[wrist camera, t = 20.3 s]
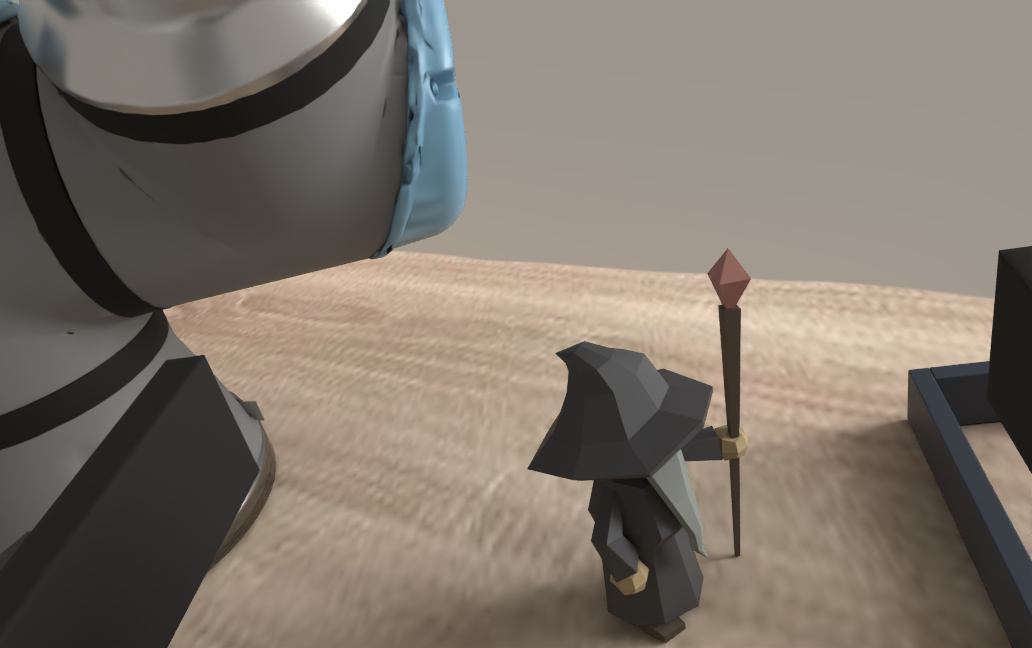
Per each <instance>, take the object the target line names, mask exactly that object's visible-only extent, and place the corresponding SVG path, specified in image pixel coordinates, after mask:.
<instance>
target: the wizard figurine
mask: <svg viewBox="0 0 1032 648" xmlns="http://www.w3.org/2000/svg"><path fill="white" fill-rule="evenodd" d="M707 274H708V276H709V278H710V280H711V282H712V284H713V286H714V288H715V290H716V292H717V295H718V297H719V299H720V301H721V303H722V305H719V306H718V308H719V322H720V335H721V349H722V362H723V376H724V389H725V403H726V416H727V425H726V426H722V427H718V428H715V430H714V429H713V427H712V426H710V427H707V428H704V424H705V420H706V416H707V412H708V408H709V404H710V400H711V397H712V393H713V388H712V386H710V385H707V384H704V383H702V382H699V381H696V380H693V379H691V378H688V377H685V376H682V375H680V374H677V373H674V372H672V371H669V370H666V369H660V370H656V368H655V367H654V366H653V364H652V363H651V362H650V361H649V359H648V358H647V357H646V355H645V354H643V353H638V352H634V351H629V350H624V349H616V348H608V347H604V346H600V345H596V344H593V343H589V342H585V341H584V342H581V343H579V344H576V345H574V346H572V347H569V348H567V349H564V350H562V351H559V352H557V353H555V354H556V355H557V356H558V357H560V358H561V359H562V360H563V361H564V362H565V363H566V366H567V368H568V371H569V374H568V385H567V394H566V397H565V400H564V403H563V406H562V409H561V412H560V413H559V415H558V416H557V418H556V420H555V421H554V423H553V424H552V426H551V427H550V429H549V431H548V432H547V434H546V436H545V438H544V440H543V441H542V443H541V445H540V447H539V449H538V451H537V452H536V454H535V456H534V458H533V460H532V461H531V463H530V465H529V467H528V469H529V470H533V471H537V472H542V473H546V474H550V475H554V476H558V477H562V478H567V479H571V480H578V481H583V480H594V483H593V488H592V493H591V498H590V503H589V508H588V511H589V512H590V514H591V516H592V518H593V519H594V521H595V524H594V529H593V534H592V539H591V542H592V543H593V545H594V547H595V548H596V550H597V552H598V553H599V555H600V557H601V558H602V562H603V571H604V580H605V588H606V597H607V605H608V612H610V613H612V614H614V615H616V616H618V617H620V618H621V619H623V620H625V621H627V622H629V623H631V624H633V625H639V626H640V627H641V628H642V629H643V630H644V631H645V632H646V633H647V634H649V635H651V636H653V637H655V638H657V639H659V640H661V641H663V642H668V641H669V640H670V639H672V638H673V637H674V636H676V635H677V634H679V633H680V632H681V631H683V630H684V629H685V622H684V621H682V620H681V619H680V618H679V617H678V616H680V615H682V614H684V613H686V612H687V611H689V610H691V609H693V608H695V607H697V606H698V605H699V599H700V594H701V588H702V582H703V575H702V572H701V570H700V567H699V564H698V562H697V559H696V557H695V554H694V551H695V552H697V553H699V554H701V555H703V556H704V557H706V558H708V559H709V557H708V555H707V552H706V549H705V547H704V544H703V527H702V519H701V516H700V512H699V509H698V505H697V502H696V498H695V495H694V491H693V488H692V484H691V481H690V477H689V474H688V471H687V467H686V464H685V461H707V460H722V459H724V460H729V462H730V480H731V498H732V515H733V533H734V551H735V555H736V557H737V556H740V472H739V457H741V456H743V455H745V452H746V450H747V447H748V438H749V436H748V435H747V434H746V433H745V432H744V430H743V429H741V428H740V427H739V421H740V332H741V309H740V308H739V307H738V306H737V305H736V304H737V303H738V301H739V299H740V297H741V296H742V294H743V292H744V290H745V289H746V287H747V285H748V283H749V282H750V280H751V278H750V277H749V275H748V274H747V273H746V271H745V270H744V269H743V267H742V266H741V265H740V263H739V262H738V261H737V259H736V258H735V257H734V256H733V255H732V253H731V252H730V250H729V249H727V250H726V251H725V253H724V254H723V255H722V256H721V257H720V259H719V260H718V261H717V262H716V264H715V265H714V266H713V267H712V268H711V270H710V271H709V272H708V273H707ZM703 428H704V429H703ZM686 532H687V533H686Z"/></svg>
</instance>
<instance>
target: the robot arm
mask: <svg viewBox="0 0 1032 648" xmlns="http://www.w3.org/2000/svg"><path fill="white" fill-rule="evenodd" d="M454 81H455V68H454V60H453V47H452V42H451V36H450V31H449V26H448V21H447V16H446V11H445V7H444V2H443V0H19V5H18V4H16V3H14V2H12V1H11V0H0V648H167V647H168V645H169V643H170V641H171V640H172V638H173V636H174V634H175V632H176V630H177V628H178V626H179V624H180V622H181V620H182V619H183V617H184V615H185V613H186V611H187V609H188V607H189V605H190V603H191V601H192V599H193V598H194V596H195V594H196V592H197V590H198V588H199V586H200V584H201V582H202V580H203V578H204V577H205V575H206V573H207V571H208V570H209V569H211V568H212V567H213V566H214V565H215V564H216V563H218V562H219V561H220V560H221V559H222V558H223V557H224V556H225V555H226V554H227V553H228V552H229V551H230V550H231V549H232V548H233V547H234V546H235V545H236V543H237V542H238V541H239V540H240V539H241V538H242V537H243V536H244V534H245V533H246V532H247V530H248V529H249V528H250V527H251V525H252V524H253V522H254V521H255V520H256V518H257V517H258V515H259V514H260V512H261V510H262V508H263V506H264V505H265V503H266V501H267V498H268V496H269V494H270V492H271V488H272V485H273V482H274V477H275V469H276V461H275V454H274V451H273V448H272V446H271V444H270V441H269V439H268V437H267V435H266V433H265V431H264V428H263V426H262V424H261V422H260V420H264V418H263V416H262V414H261V411H260V409H259V407H258V405H257V403H256V401H253V402H243V401H242V400H241V399H240V398H239V397H237V396H236V395H235V394H234V393H232V392H230V391H228V390H227V388H226V387H225V386H224V385H223V384H222V383H221V382H220V381H219V380H218V379H217V378H216V376H215V375H214V374H213V372H212V370H211V368H210V366H209V364H208V362H207V360H206V358H205V356H204V355H200V356H195V355H194V354H193V352H192V351H191V350H190V349H189V348H188V347H187V346H186V345H185V344H184V343H183V342H182V341H181V340H180V339H179V338H178V337H177V336H176V335H175V333H174V332H173V330H172V328H171V326H170V324H169V322H168V320H167V318H166V316H165V314H164V312H163V309H168V308H171V307H172V306H176V305H180V304H184V303H188V302H192V301H196V300H200V299H204V298H208V297H212V296H216V295H220V294H224V293H228V292H233V291H237V290H241V289H245V288H249V287H253V286H257V285H261V284H265V283H269V282H273V281H278V280H282V279H286V278H290V277H294V276H298V275H302V274H306V273H310V272H314V271H318V270H323V269H327V268H331V267H335V266H339V265H343V264H347V263H351V262H355V261H359V260H364V259H368V258H370V259H377V258H381V257H384V256H385V255H387V254H389V253H390V252H391V251H392V250H393V249H394V248H397V247H401V246H404V245H407V244H410V243H413V242H416V241H420V240H423V239H426V238H429V237H432V236H435V235H438V234H440V233H442V232H443V231H445V230H446V229H448V228H449V227H450V226H451V225H453V223H454V222H455V221H456V220H457V218H458V217H459V215H460V213H461V211H462V209H463V206H464V203H465V199H466V193H467V154H466V143H465V142H466V141H465V131H464V122H463V115H462V108H461V100H460V96H459V92H458V89H457V86H456V84H455V82H454ZM987 399H988V401H989V403H990V404H991V406H992V408H993V409H994V411H995V413H996V414H997V416H998V418H999V419H1000V421H1001V423H1002V424H1003V426H1004V428H1005V430H1006V431H1007V433H1008V435H1009V436H1010V438H1011V440H1012V441H1013V443H1014V445H1015V446H1016V448H1017V450H1018V451H1019V453H1020V455H1021V456H1022V458H1023V460H1024V461H1025V463H1026V465H1027V466H1028V468H1029V470H1030V471H1031V473H1032V246H1029V247H1021V248H1014V249H1007V250H999V256H998V268H997V279H996V291H995V303H994V315H993V327H992V338H991V350H990V362H989V374H988V386H987Z"/></svg>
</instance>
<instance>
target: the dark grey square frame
mask: <svg viewBox="0 0 1032 648" xmlns="http://www.w3.org/2000/svg"><path fill="white" fill-rule="evenodd" d="M989 362H990V361H987V362H977V363H968V364H959V365H950V366H941V367H932V368H930V369H929V368H923V369H914V370H909V371H908V420H909V422H910V424H911V427H912V429H913V431H914V433H915V435H916V438H917V440H918V442H919V444H920V446H921V448H922V451H923V453H924V455H925V457H926V459H927V462H928V464H929V466H930V468H931V470H932V473H933V475H934V477H935V479H936V481H937V483H938V486H939V488H940V490H941V492H942V494H943V497H944V499H945V501H946V503H947V505H948V507H949V510H950V512H951V514H952V516H953V518H954V521H955V523H956V525H957V527H958V529H959V532H960V534H961V536H962V538H963V540H964V542H965V545H966V547H967V549H968V551H969V553H970V556H971V558H972V560H973V562H974V564H975V566H976V569H977V571H978V573H979V575H980V577H981V580H982V582H983V584H984V586H985V588H986V591H987V593H988V595H989V597H990V599H991V601H992V604H993V606H994V608H995V610H996V612H997V615H998V617H999V619H1000V621H1001V623H1002V625H1003V628H1004V630H1005V632H1006V634H1007V636H1008V639H1009V641H1010V643H1011V645H1012V647H1013V648H1032V560H1031V558H1030V556H1029V554H1028V553H1027V551H1026V549H1025V547H1024V545H1023V543H1022V541H1021V539H1020V538H1019V536H1018V534H1017V532H1016V530H1015V528H1014V526H1013V525H1012V523H1011V521H1010V519H1009V517H1008V515H1007V513H1006V511H1005V510H1004V508H1003V506H1002V504H1001V502H1000V500H999V498H998V496H997V495H996V493H995V491H994V489H993V487H992V485H991V483H990V482H989V480H988V478H987V476H986V474H985V472H984V470H983V468H982V467H981V465H980V463H979V461H978V459H977V457H976V455H975V453H974V452H973V450H972V448H971V446H970V444H969V442H968V440H967V438H966V437H965V435H964V433H963V431H962V429H961V427H960V425H966V424H976V423H986V422H997V421H1000V419H999V418H998V416H997V414H996V413H995V411H994V409H993V408H992V406H991V404H990V403H989V401H988V399H987V386H988V374H989Z"/></svg>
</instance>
